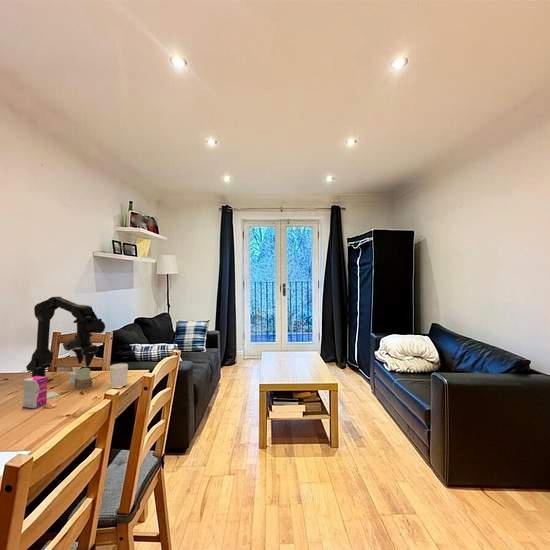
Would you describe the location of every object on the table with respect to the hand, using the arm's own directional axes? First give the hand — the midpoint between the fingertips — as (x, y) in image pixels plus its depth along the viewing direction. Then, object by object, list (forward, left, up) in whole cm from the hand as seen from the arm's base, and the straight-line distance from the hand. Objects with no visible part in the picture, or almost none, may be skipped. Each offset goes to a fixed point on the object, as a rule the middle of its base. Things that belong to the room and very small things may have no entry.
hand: (83, 365), depth 158 cm
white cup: (+13, +11, -11) cm, 20 cm away
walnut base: (0, 0, -11) cm, 11 cm away
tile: (+2, -15, -10) cm, 18 cm away
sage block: (0, 0, -7) cm, 7 cm away
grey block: (-11, +1, -11) cm, 15 cm away
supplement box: (+11, -22, -11) cm, 27 cm away
